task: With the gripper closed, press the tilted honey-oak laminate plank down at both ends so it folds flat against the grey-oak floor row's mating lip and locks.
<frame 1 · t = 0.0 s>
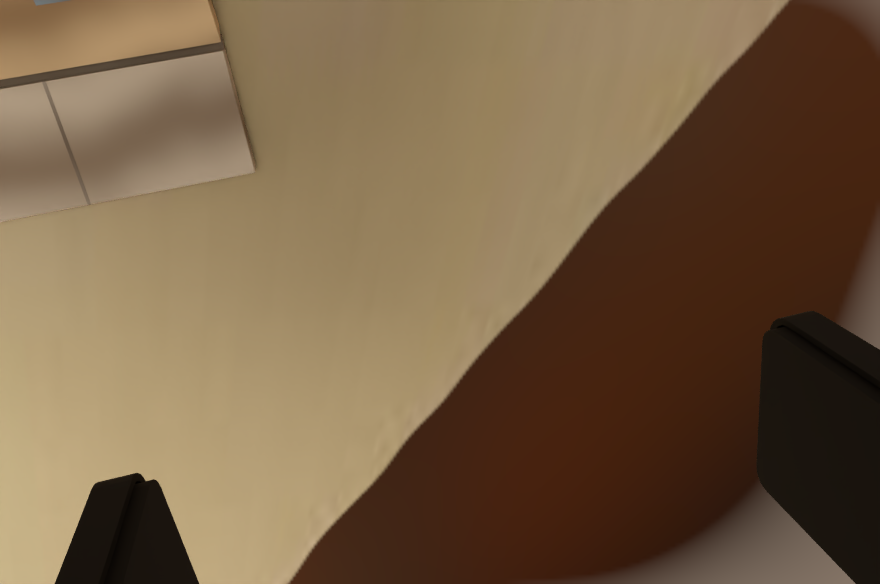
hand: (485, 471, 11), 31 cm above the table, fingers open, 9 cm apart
floor row: (5, 152, 36), on the table
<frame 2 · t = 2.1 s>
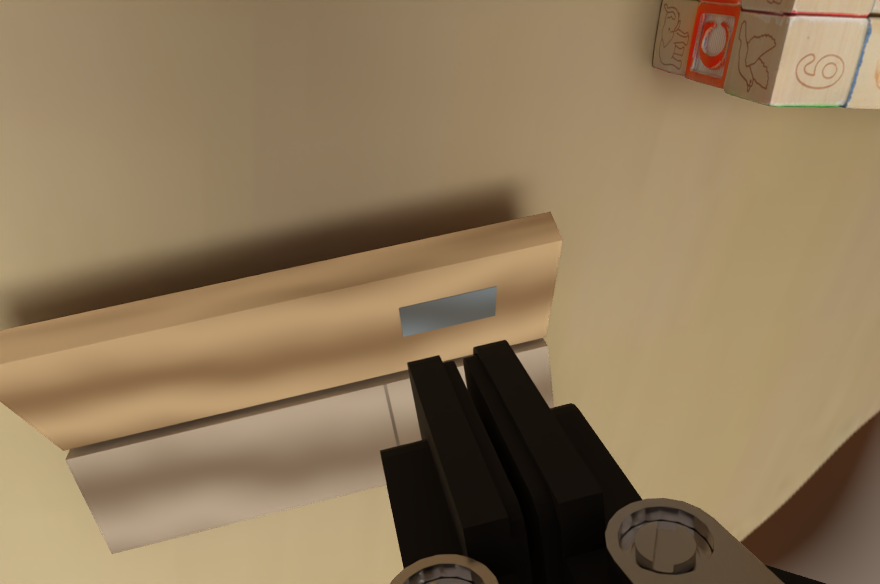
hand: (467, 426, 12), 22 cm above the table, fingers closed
stack of blocks: (862, 9, 34), on the table
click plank: (294, 337, 32), point 3 cm above the table, hinge at 30.0°
floor row: (327, 431, 38), on the table
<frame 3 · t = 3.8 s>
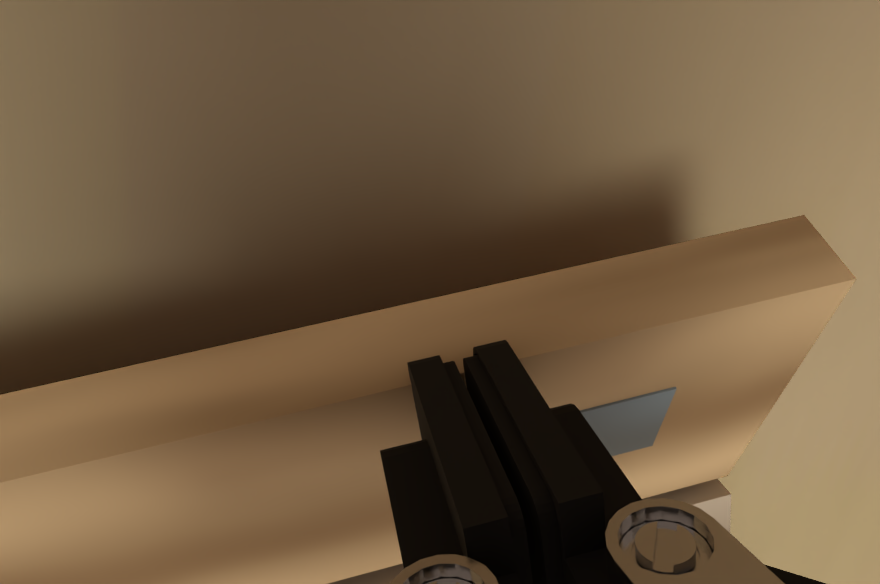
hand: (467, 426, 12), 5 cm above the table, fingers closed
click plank: (216, 504, 14), point 3 cm above the table, hinge at 27.3°, touching gripper
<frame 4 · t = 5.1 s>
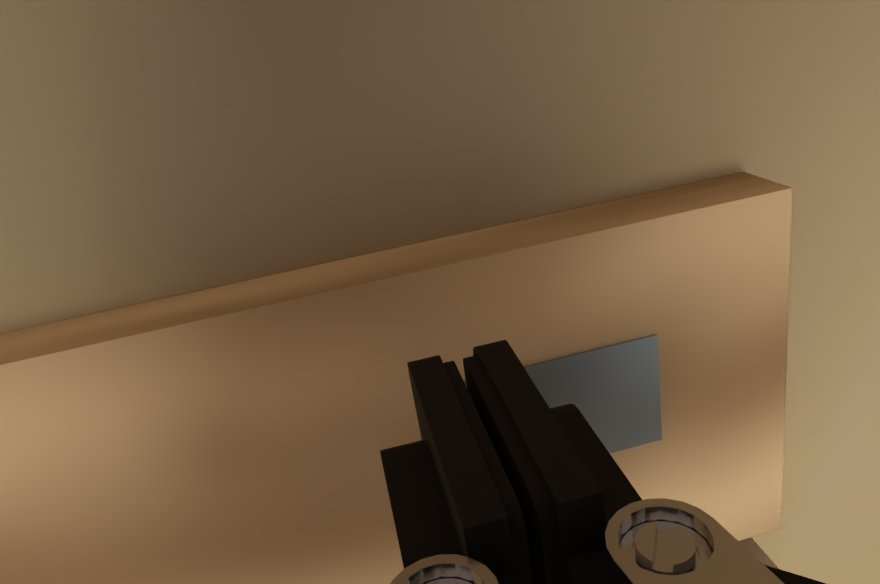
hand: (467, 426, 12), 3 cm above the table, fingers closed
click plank: (200, 503, 14), point 1 cm above the table, hinge at -0.9°
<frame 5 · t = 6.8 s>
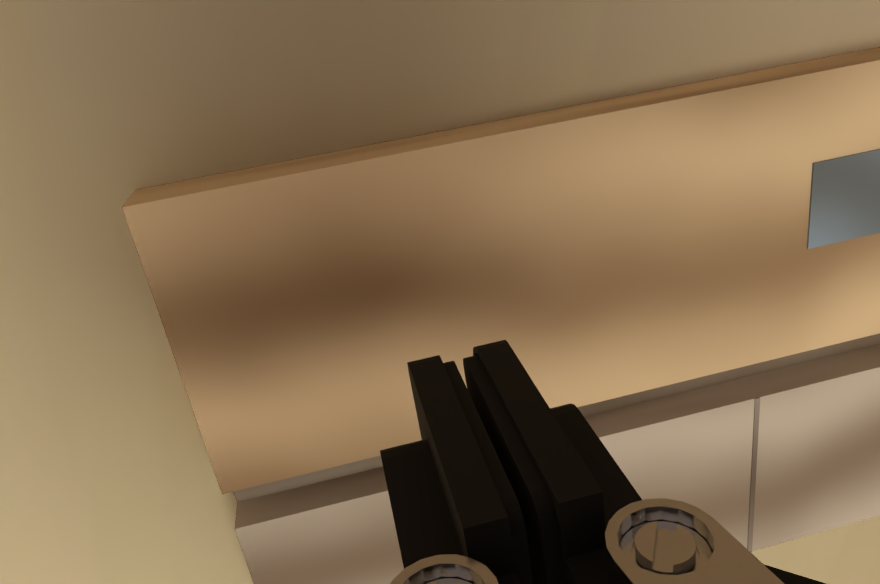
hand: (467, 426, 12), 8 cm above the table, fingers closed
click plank: (628, 251, 19), point 1 cm above the table, hinge at -0.8°
floor row: (627, 474, 23), on the table
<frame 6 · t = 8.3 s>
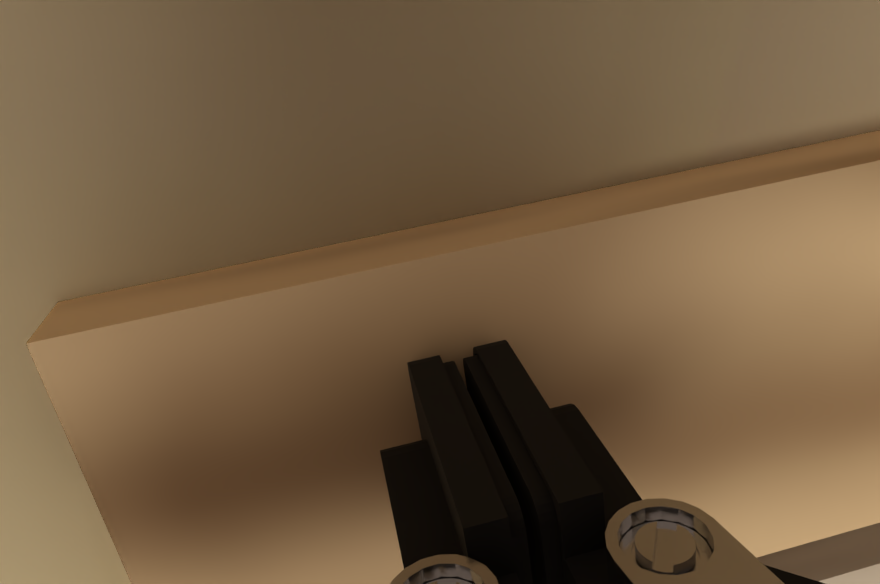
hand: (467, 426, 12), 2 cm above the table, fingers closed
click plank: (760, 368, 14), point 1 cm above the table, hinge at -0.8°
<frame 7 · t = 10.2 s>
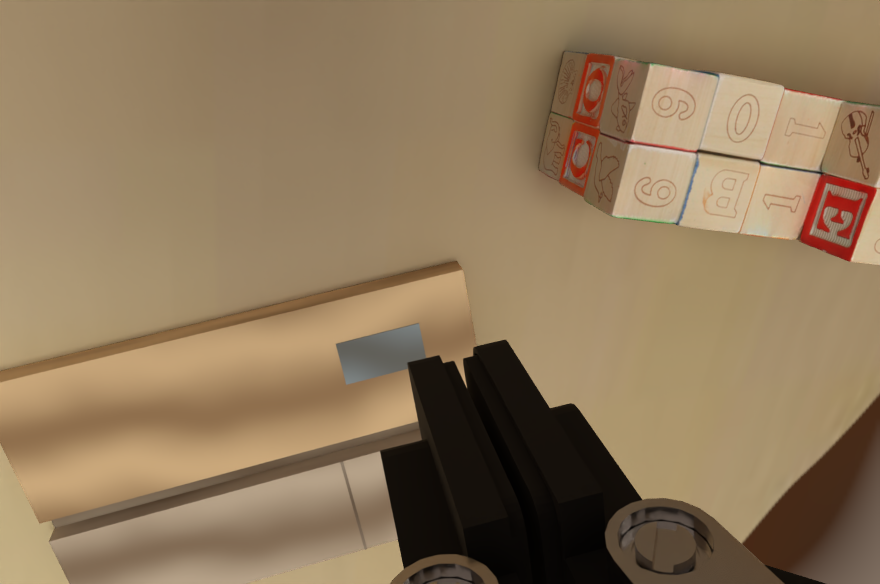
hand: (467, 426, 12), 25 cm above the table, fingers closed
stack of blocks: (725, 142, 39), on the table
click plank: (252, 389, 37), point 1 cm above the table, hinge at -0.8°
floor row: (292, 506, 41), on the table
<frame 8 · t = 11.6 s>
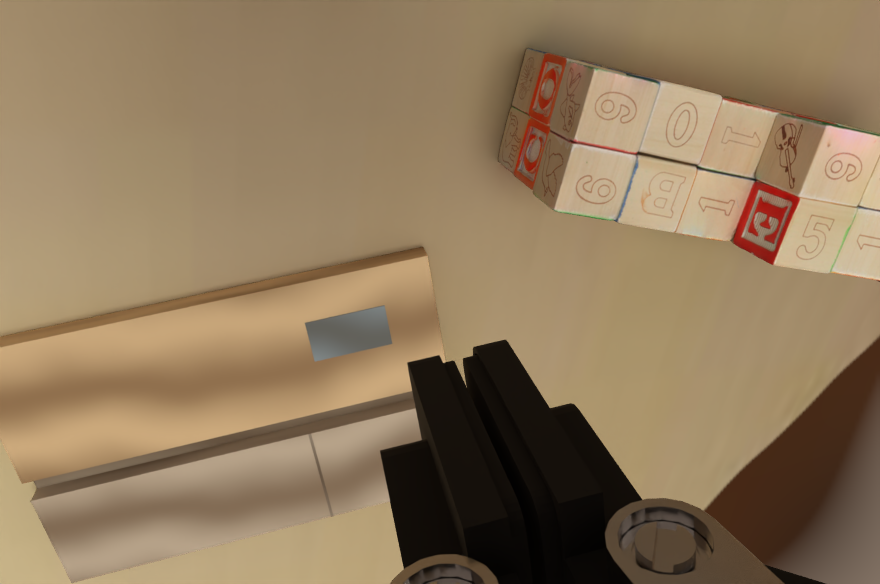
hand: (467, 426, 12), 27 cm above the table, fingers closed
stack of blocks: (679, 144, 41), on the table
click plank: (225, 363, 39), point 1 cm above the table, hinge at -0.8°
floor row: (263, 474, 43), on the table
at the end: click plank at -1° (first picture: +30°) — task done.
